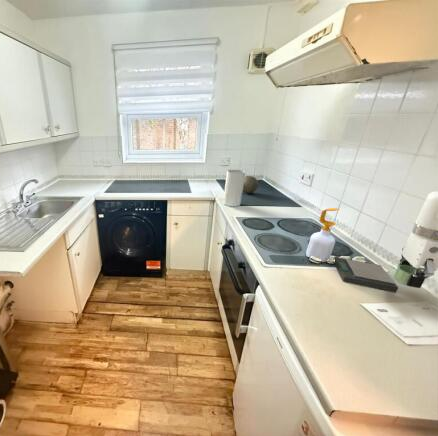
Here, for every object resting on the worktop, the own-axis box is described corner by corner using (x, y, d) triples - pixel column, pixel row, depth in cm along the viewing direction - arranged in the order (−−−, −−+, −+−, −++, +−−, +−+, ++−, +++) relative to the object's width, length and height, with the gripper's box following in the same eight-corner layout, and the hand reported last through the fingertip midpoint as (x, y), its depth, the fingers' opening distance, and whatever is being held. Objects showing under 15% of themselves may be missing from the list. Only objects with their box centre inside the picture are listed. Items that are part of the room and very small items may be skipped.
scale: (378, 269, 101) (380, 263, 100) (395, 292, 88) (399, 286, 87) (333, 261, 107) (335, 255, 106) (343, 281, 94) (345, 275, 93)
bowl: (414, 278, 81) (419, 267, 79) (425, 290, 76) (431, 278, 74) (389, 274, 84) (394, 263, 82) (398, 285, 78) (403, 273, 76)
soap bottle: (323, 264, 105) (341, 213, 95) (301, 255, 112) (316, 207, 102) (332, 258, 109) (350, 209, 100) (311, 250, 116) (325, 203, 107)
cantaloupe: (238, 190, 213) (241, 174, 207) (255, 192, 209) (258, 175, 203) (238, 195, 200) (241, 177, 195) (257, 196, 196) (260, 178, 190)
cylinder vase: (243, 204, 180) (248, 171, 170) (235, 208, 172) (240, 173, 162) (227, 200, 188) (232, 168, 178) (219, 204, 180) (223, 171, 170)
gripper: (468, 247, 64) (438, 299, 71) (430, 223, 78) (408, 268, 85) (430, 242, 67) (405, 293, 73) (400, 219, 81) (381, 264, 88)
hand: (407, 279), depth 79 cm, fingers closed on bowl, 6 cm apart
